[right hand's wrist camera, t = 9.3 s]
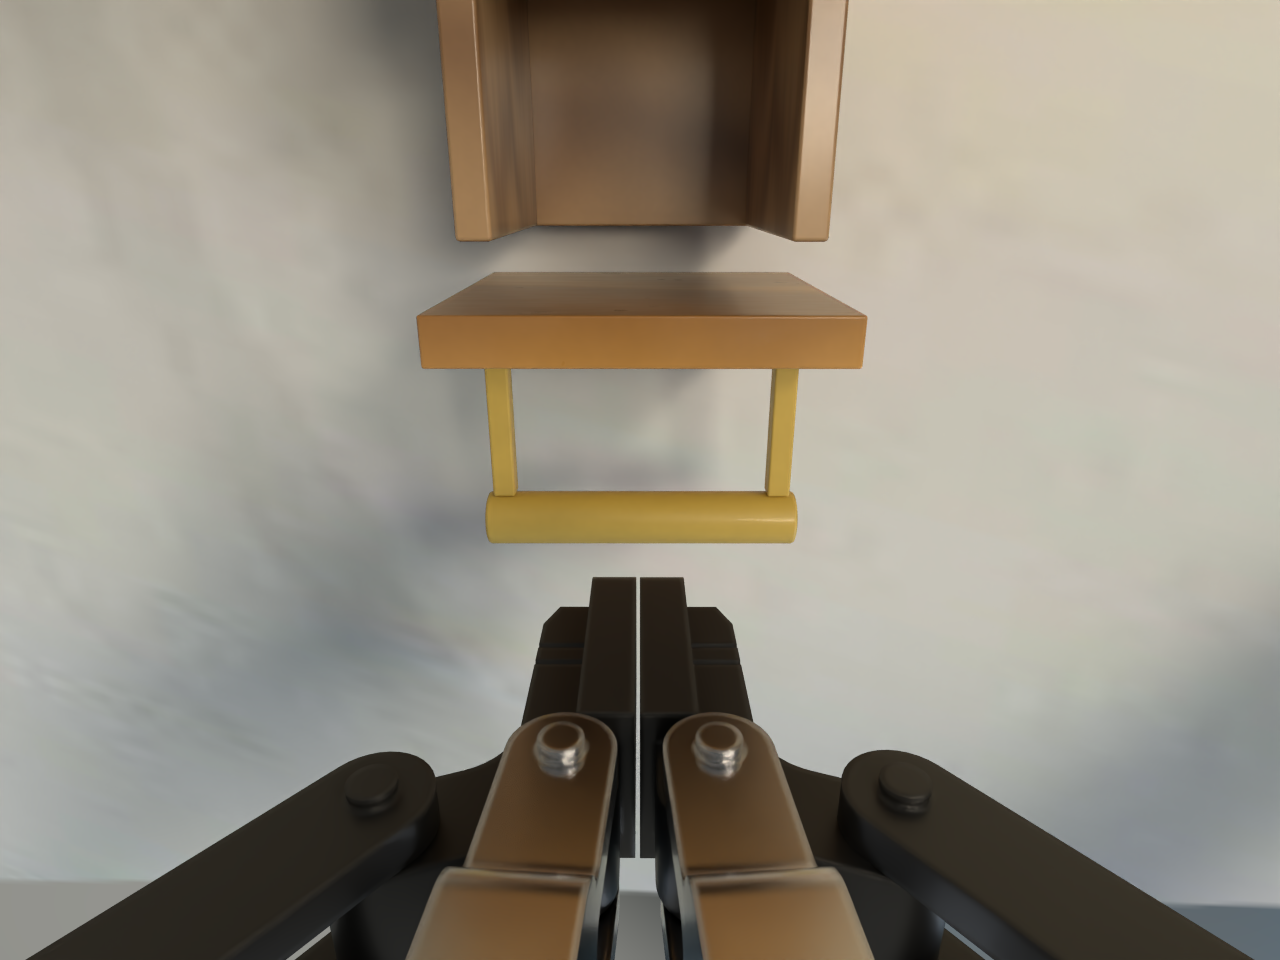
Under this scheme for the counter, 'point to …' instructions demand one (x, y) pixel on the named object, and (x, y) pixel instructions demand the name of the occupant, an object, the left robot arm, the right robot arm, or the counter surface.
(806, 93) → the drawer
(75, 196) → the counter surface
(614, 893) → the right robot arm
